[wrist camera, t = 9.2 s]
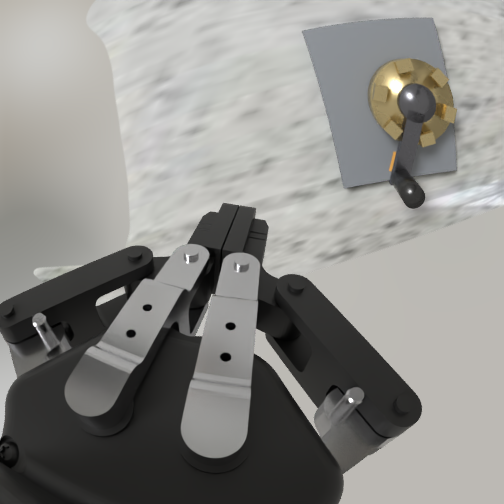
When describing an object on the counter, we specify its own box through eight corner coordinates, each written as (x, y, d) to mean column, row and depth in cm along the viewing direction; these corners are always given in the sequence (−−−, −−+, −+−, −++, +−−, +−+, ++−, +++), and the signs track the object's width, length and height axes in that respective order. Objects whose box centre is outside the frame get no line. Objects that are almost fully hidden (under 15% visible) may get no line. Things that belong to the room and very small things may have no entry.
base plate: (427, 18, 22) (433, 17, 21) (452, 166, 33) (456, 170, 32) (302, 32, 27) (302, 30, 26) (342, 183, 38) (344, 188, 36)
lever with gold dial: (373, 48, 25) (395, 45, 19) (450, 73, 25) (486, 81, 18) (353, 169, 34) (366, 199, 28) (424, 184, 34) (449, 217, 27)
